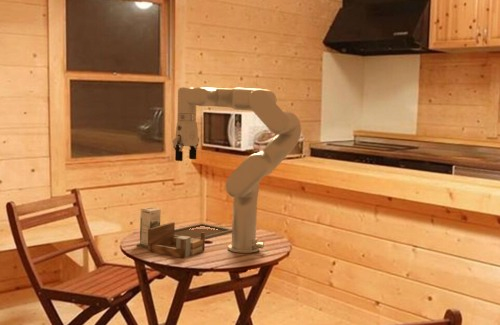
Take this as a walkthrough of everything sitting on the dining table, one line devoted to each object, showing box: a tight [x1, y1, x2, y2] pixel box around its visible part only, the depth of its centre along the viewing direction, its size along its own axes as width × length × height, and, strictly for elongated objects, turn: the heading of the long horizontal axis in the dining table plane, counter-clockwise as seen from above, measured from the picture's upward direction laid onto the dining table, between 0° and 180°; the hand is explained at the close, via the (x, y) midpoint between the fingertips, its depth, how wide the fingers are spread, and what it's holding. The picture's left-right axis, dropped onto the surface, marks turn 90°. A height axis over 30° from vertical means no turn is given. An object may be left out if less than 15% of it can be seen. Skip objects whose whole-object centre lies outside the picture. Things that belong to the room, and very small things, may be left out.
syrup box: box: [139, 206, 162, 246], centre depth 233 cm, size 6×6×14 cm
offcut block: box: [175, 236, 191, 258], centre depth 221 cm, size 4×4×7 cm
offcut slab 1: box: [191, 238, 203, 249], centre depth 226 cm, size 5×6×2 cm
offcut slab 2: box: [189, 246, 203, 256], centre depth 226 cm, size 5×6×2 cm
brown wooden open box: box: [147, 221, 206, 259], centre depth 227 cm, size 16×16×9 cm
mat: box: [136, 243, 148, 249], centre depth 234 cm, size 7×7×1 cm
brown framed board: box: [174, 222, 232, 240], centre depth 259 cm, size 19×2×30 cm
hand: (185, 159), depth 238 cm, fingers open, 9 cm apart
